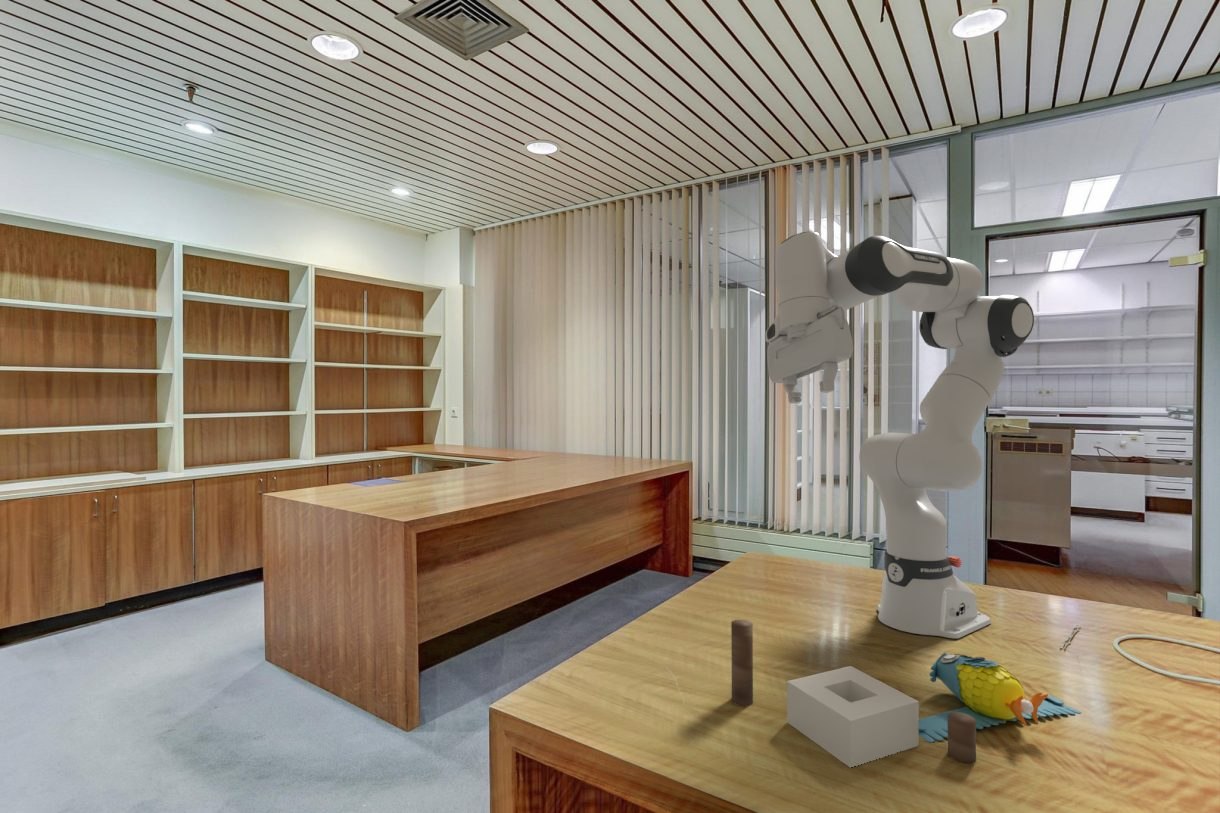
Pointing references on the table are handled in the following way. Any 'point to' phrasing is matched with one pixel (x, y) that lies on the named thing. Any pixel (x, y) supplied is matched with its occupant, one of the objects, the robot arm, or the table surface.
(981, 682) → the blue yellow bird figure
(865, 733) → the hole block
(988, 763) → the table surface
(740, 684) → the long pin
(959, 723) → the short pin
